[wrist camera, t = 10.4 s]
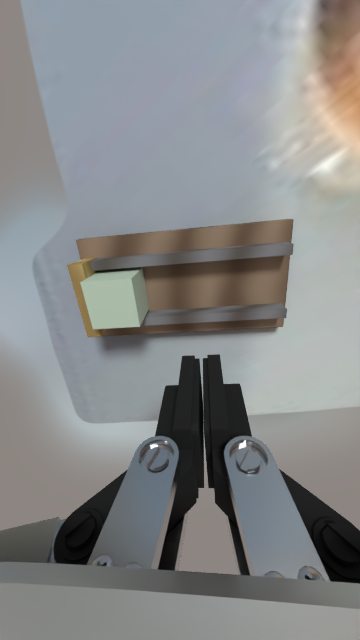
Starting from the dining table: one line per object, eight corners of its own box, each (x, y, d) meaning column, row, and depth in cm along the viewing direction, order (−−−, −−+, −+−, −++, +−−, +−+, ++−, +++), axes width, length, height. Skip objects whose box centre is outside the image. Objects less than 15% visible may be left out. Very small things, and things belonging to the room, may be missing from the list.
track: (288, 219, 25) (310, 220, 20) (279, 321, 30) (295, 343, 25) (81, 238, 27) (56, 244, 22) (104, 330, 32) (87, 352, 27)
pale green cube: (142, 267, 26) (131, 278, 22) (149, 308, 29) (139, 326, 24) (99, 270, 27) (80, 282, 22) (109, 311, 29) (92, 329, 24)
